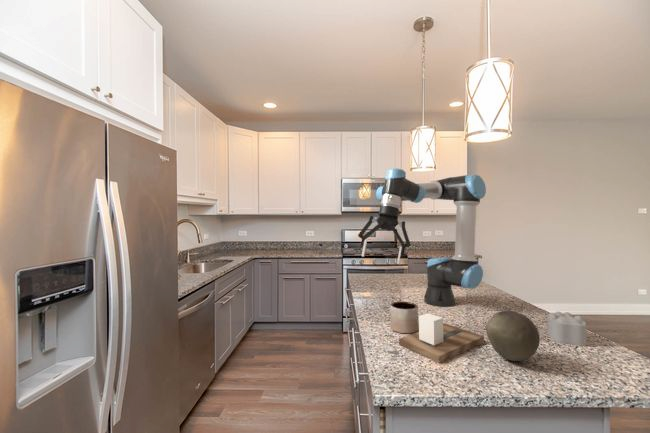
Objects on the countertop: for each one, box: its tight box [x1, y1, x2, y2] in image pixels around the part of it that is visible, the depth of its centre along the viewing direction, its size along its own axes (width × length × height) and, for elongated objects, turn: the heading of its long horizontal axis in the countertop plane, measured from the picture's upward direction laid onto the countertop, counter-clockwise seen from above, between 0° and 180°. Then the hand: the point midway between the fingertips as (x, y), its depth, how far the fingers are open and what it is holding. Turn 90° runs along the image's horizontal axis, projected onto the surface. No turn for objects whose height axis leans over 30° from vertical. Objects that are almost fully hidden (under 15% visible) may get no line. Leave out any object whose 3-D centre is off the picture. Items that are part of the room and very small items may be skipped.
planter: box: [389, 301, 419, 335], centre depth 120 cm, size 11×11×10 cm
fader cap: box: [418, 313, 444, 345], centre depth 102 cm, size 5×6×8 cm
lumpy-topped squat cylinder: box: [546, 311, 588, 347], centre depth 109 cm, size 10×13×9 cm
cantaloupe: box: [486, 310, 541, 362], centre depth 93 cm, size 14×14×15 cm
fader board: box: [398, 322, 485, 364], centre depth 105 cm, size 26×16×2 cm, turn 124°
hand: (380, 260), depth 115 cm, fingers open, 13 cm apart
